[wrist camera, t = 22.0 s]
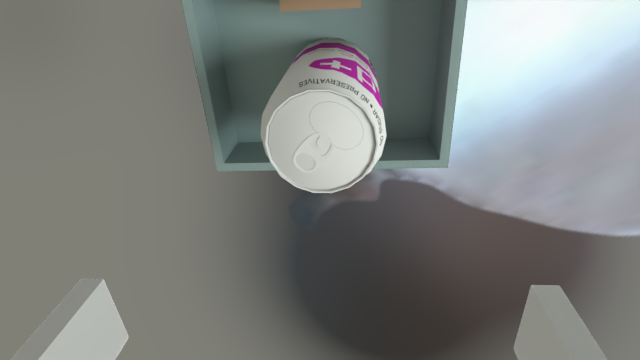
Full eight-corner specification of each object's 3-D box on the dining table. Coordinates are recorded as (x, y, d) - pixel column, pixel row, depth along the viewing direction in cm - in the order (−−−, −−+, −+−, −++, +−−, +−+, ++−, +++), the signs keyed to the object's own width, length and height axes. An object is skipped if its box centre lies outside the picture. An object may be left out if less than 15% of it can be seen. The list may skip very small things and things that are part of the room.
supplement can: (325, 16, 34) (308, 47, 21) (393, 76, 36) (416, 138, 23) (273, 86, 37) (230, 151, 24) (338, 137, 39) (331, 221, 26)
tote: (183, -126, 30) (150, -144, 25) (465, -152, 28) (488, -178, 23) (233, 147, 41) (217, 171, 37) (436, 143, 39) (447, 167, 35)
